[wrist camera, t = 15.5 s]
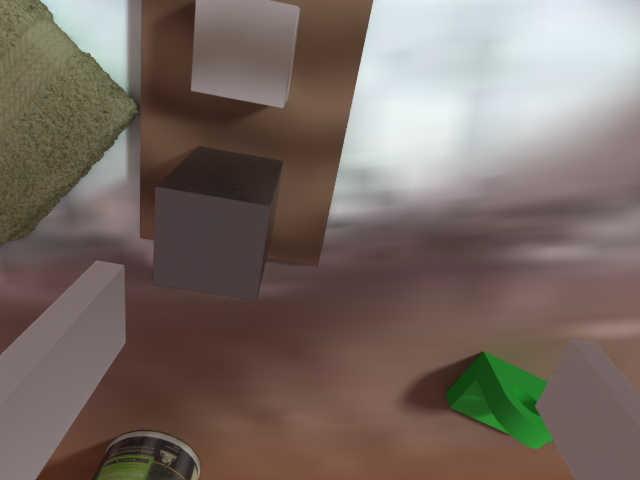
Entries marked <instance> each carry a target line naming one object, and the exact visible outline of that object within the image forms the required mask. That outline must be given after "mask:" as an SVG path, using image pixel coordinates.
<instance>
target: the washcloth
mask: <svg viewBox="0 0 640 480" xmlns="http://www.w3.org/2000/svg"><path fill="white" fill-rule="evenodd" d="M138 110H139V108H138V104H137V103H135V101H134V99H133V98H130V97H129V96H128V95H127V93H126V92H125V91H124V90H123V89H122V88H121V87H119V85H118V84H117V83H115V82H114V81H113V80H112V79H111V78H110V76H109V74H108V73H106V72H104V70H103V69H102V68H101V67H100V65H99V64H98V63H97V62H96V61H95V59H94V58H93V57H91V55H90V53H85V52H82V51H81V50H80V49H79V48H78V46H77V45H76V44H75V43H74V42H73V41H72V40H71V39H70V38H69V36H68V35H67V34H66V33H65V32H63V31H62V30H61V29H60V28H59V27H58V25H57V24H56V23H55V22H54V21H53V15H52V13H51V12H50V11H49V10H48V8H47V6H46V5H44V4H43V3H42V2H41V1H40V0H0V246H1V245H2V244H3V243H4V242H7V241H8V240H18V239H21V238H24V237H25V236H26V235H28V234H29V233H30V232H31V231H32V230H35V227H36V225H37V223H39V221H40V220H41V219H42V218H44V217H45V216H47V215H48V214H49V213H50V211H51V209H52V208H53V207H55V206H56V204H57V203H58V202H60V198H61V197H64V196H66V194H67V193H68V192H69V191H70V190H71V189H72V188H73V187H75V185H76V184H77V183H78V182H79V181H80V178H82V177H84V176H85V175H86V174H88V171H89V170H90V169H91V166H92V165H93V164H95V163H96V162H97V161H100V160H101V158H102V157H103V155H104V151H107V150H108V149H109V148H110V147H111V146H113V144H114V140H117V139H118V136H119V134H120V133H121V132H122V131H123V130H125V128H126V127H128V126H129V125H130V123H131V121H132V119H133V118H134V115H135V114H136V113H138Z"/></svg>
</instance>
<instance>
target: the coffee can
mask: <svg viewBox="0 0 640 480" xmlns="http://www.w3.org/2000/svg"><path fill="white" fill-rule="evenodd" d="M199 474H200V463H199V460H198V457H197V456H196V455H195V453H194V451H193V450H192V449H191V448H190V447H189V446H188V445H186V444H185V443H184V442H182V441H181V440H179V439H177V438H175V437H173V436H170V435H167V434H164V433H160V432H154V431H135V432H131V433H127V434H124V435H121V436H119V437H118V438H116V439H115V440H114V441H112V442H111V443H110V444H109V446H108V447H107V449H106V451H105V455H104V457H103V459H102V461H101V463H100V465H99V467H98V469H97V471H96V472H95V474H94V476H93V478H92V480H197V479H198V477H199Z"/></svg>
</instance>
